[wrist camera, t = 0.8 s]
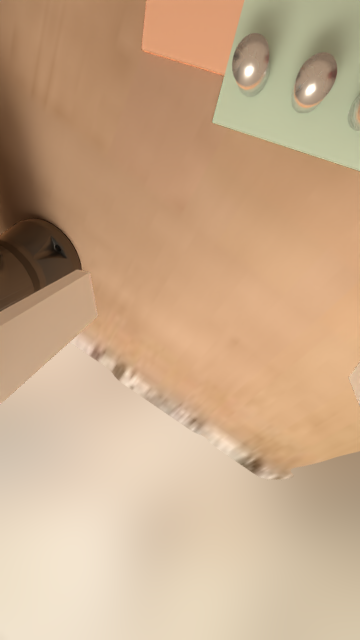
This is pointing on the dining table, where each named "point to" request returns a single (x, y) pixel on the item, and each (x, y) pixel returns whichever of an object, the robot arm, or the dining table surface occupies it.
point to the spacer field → (285, 62)
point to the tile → (192, 31)
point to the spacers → (309, 83)
